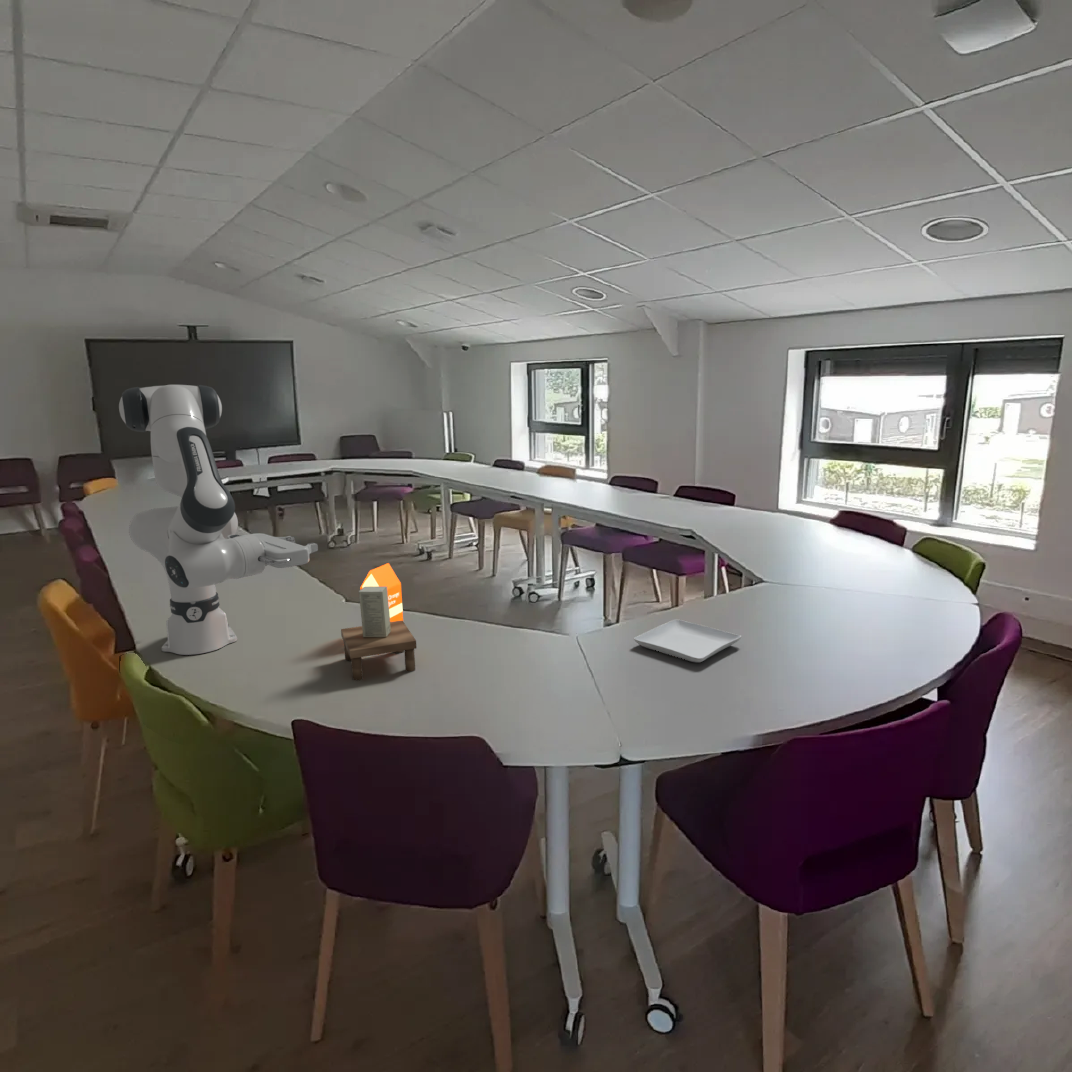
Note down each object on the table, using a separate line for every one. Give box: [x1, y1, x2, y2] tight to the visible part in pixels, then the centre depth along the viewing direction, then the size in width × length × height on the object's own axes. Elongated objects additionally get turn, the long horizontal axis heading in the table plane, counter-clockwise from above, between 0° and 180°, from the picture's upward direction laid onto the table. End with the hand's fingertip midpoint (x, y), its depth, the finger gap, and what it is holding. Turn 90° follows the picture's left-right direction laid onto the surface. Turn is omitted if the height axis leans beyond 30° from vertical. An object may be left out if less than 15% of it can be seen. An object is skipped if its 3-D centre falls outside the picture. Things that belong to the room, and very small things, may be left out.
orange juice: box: [359, 562, 404, 622], centre depth 199 cm, size 8×9×20 cm
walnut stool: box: [340, 620, 417, 682], centre depth 179 cm, size 16×16×8 cm
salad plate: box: [633, 618, 742, 663], centre depth 189 cm, size 21×21×3 cm
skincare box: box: [358, 586, 391, 637], centre depth 177 cm, size 6×4×12 cm
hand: (304, 543), depth 164 cm, fingers open, 8 cm apart
